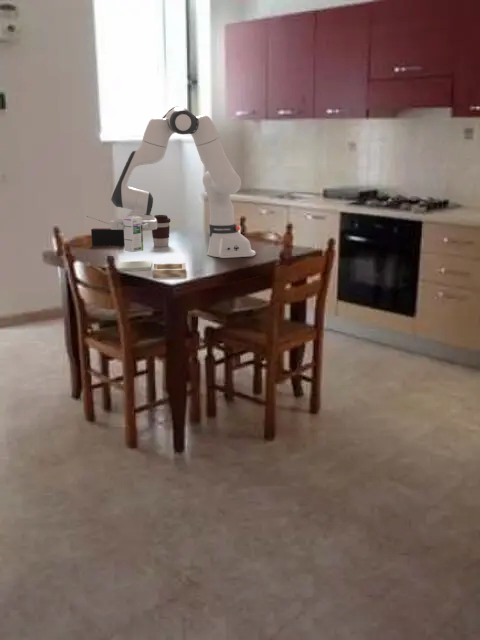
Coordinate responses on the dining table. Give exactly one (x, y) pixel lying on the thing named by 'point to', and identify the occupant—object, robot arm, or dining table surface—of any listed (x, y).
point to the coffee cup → (161, 231)
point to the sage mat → (135, 265)
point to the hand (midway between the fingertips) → (132, 227)
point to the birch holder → (169, 270)
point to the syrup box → (133, 233)
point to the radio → (107, 237)
